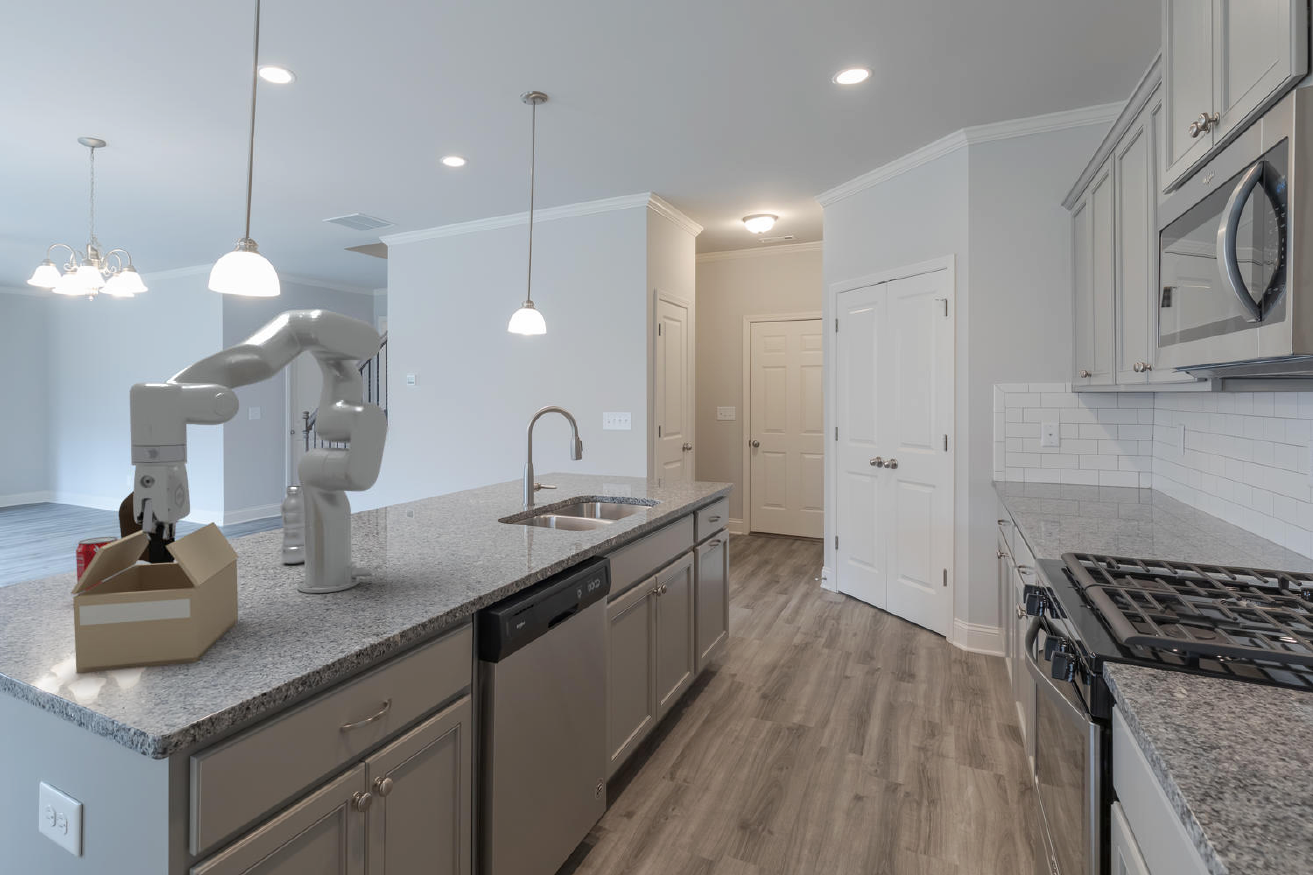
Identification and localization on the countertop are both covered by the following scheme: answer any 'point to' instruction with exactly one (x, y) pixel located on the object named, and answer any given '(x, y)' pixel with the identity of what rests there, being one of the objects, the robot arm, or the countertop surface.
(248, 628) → the countertop surface
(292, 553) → the plastic bottle
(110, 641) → the carton
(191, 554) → the flap
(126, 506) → the olive oil
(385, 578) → the countertop surface
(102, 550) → the flap
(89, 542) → the soda can
